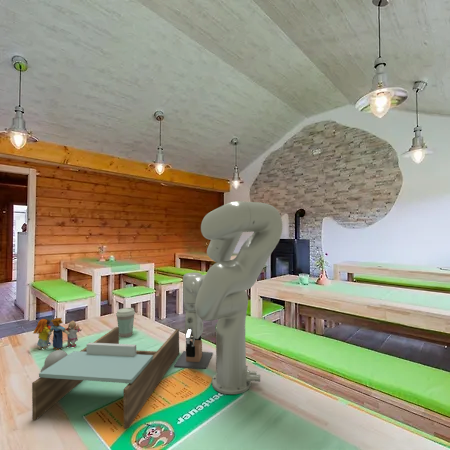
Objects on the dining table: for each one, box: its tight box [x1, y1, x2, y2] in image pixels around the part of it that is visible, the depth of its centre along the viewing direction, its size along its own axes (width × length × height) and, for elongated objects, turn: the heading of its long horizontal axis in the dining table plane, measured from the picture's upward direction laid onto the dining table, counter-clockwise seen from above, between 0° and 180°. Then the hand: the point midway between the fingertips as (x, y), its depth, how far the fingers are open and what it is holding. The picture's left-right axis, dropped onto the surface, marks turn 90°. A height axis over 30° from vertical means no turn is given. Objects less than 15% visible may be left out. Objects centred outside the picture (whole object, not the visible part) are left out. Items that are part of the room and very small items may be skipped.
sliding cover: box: [38, 342, 153, 384], centre depth 81 cm, size 27×14×4 cm, turn 82°
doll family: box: [32, 317, 82, 351], centre depth 118 cm, size 21×10×13 cm, turn 80°
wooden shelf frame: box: [31, 326, 180, 429], centre depth 92 cm, size 27×42×10 cm, turn 172°
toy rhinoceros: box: [39, 349, 69, 373], centre depth 95 cm, size 7×12×8 cm, turn 74°
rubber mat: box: [173, 350, 213, 370], centre depth 105 cm, size 12×12×1 cm
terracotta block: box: [186, 339, 203, 362], centre depth 105 cm, size 5×5×6 cm
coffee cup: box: [115, 307, 136, 338], centre depth 131 cm, size 8×9×12 cm
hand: (194, 350), depth 105 cm, fingers open, 9 cm apart
